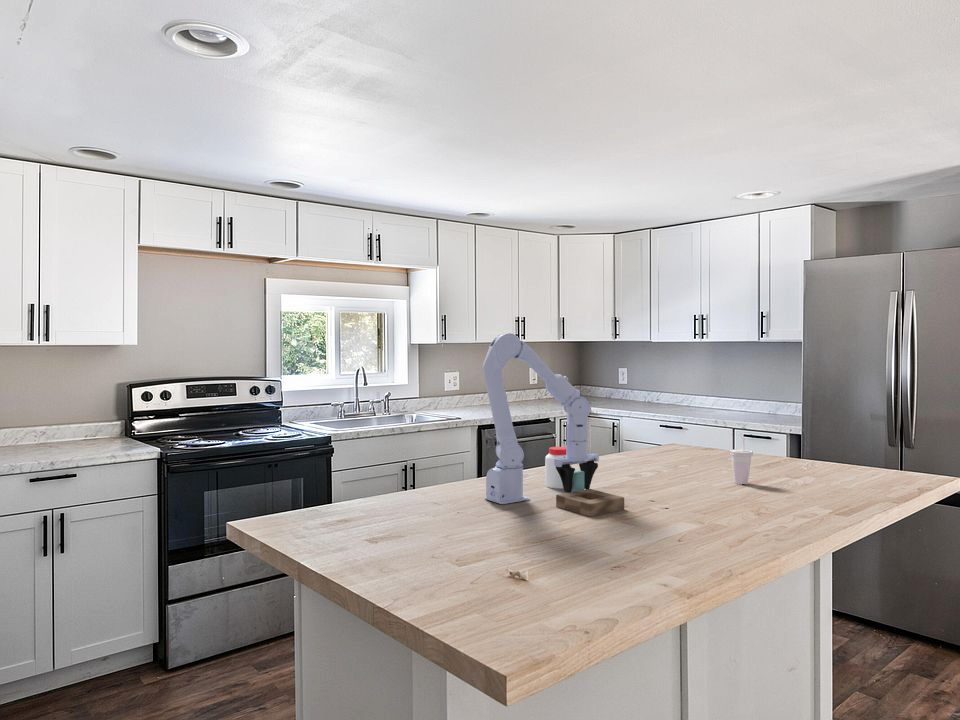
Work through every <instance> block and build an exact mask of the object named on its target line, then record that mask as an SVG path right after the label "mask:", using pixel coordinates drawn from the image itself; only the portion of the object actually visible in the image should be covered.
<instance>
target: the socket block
mask: <svg viewBox="0 0 960 720" xmlns="http://www.w3.org/2000/svg"><path fill="white" fill-rule="evenodd" d="M555 498H556V499H555V501H556V502H555V503H556V504H555V506H556V507H557V508H559V509H563V510H565V511H570V512H572V513H576V514H579V515H583V516H585V517H586V516H587V517H595V516H599V515H604V514H609V513H613V512H614V513H615V512H618V511H622V510H625V497H624V496H620V495H616V494H612V493H609V492H604V491H600V490H596V489H592V488H589V489H584V490H580V491H575V492H569V493H567V492H564V493H560V494H559V493H558V494H555Z"/></svg>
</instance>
